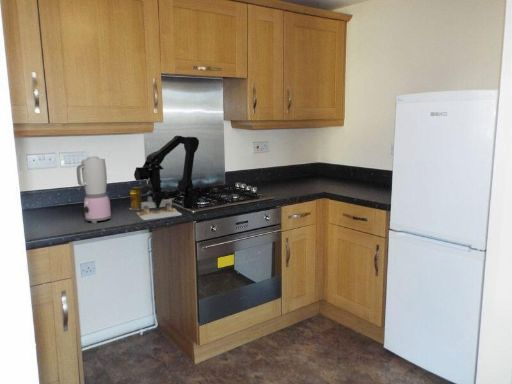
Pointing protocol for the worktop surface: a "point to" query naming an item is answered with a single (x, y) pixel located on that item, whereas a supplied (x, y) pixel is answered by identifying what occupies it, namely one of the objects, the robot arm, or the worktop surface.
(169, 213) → the mat
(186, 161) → the robot arm
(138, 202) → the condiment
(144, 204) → the rail
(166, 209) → the rack
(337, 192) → the worktop surface
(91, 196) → the blender
